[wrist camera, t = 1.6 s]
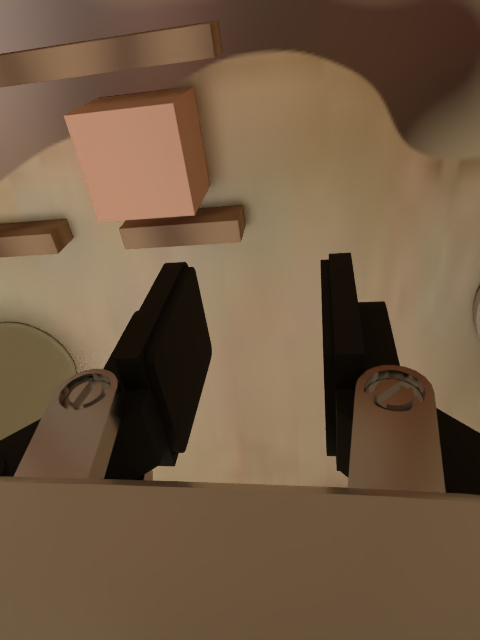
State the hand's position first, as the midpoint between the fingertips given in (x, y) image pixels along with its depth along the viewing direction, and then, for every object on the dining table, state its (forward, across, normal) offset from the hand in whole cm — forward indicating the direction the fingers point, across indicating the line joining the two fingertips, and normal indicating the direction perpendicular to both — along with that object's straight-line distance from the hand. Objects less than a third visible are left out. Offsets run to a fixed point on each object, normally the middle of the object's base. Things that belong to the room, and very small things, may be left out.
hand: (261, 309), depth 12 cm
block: (+19, +8, 0) cm, 21 cm away
